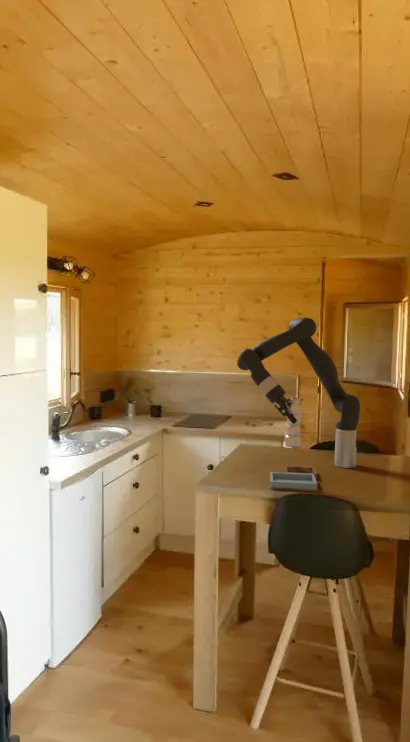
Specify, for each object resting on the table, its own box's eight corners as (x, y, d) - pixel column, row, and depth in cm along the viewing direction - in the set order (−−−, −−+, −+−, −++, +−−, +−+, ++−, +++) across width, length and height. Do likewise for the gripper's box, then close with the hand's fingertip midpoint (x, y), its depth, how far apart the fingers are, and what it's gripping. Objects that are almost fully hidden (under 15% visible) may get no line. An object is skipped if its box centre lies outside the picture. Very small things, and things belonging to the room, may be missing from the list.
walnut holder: (313, 472, 247) (314, 467, 246) (316, 480, 235) (316, 474, 235) (283, 471, 248) (284, 465, 248) (285, 478, 236) (285, 472, 236)
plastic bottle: (281, 445, 230) (283, 397, 228) (295, 445, 232) (298, 397, 231) (289, 449, 224) (292, 399, 222) (303, 448, 226) (306, 399, 225)
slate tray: (313, 481, 233) (313, 474, 233) (317, 491, 219) (317, 483, 219) (269, 479, 235) (270, 472, 234) (270, 489, 221) (270, 481, 220)
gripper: (272, 385, 223) (299, 418, 219) (283, 382, 236) (309, 413, 232) (259, 397, 226) (285, 429, 221) (271, 393, 239) (296, 424, 234)
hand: (298, 421), depth 227 cm, fingers closed on plastic bottle, 6 cm apart
